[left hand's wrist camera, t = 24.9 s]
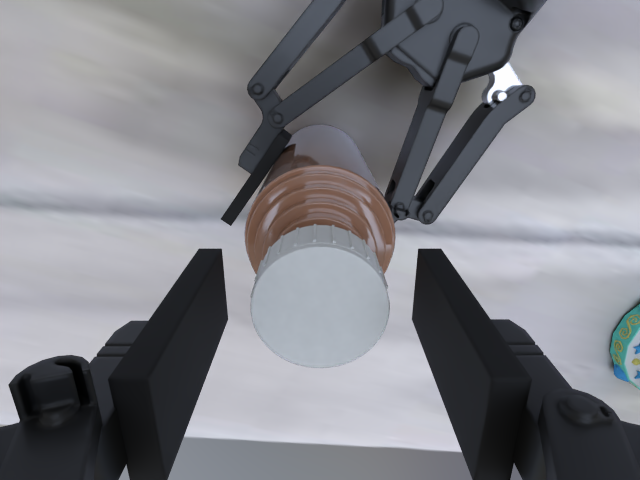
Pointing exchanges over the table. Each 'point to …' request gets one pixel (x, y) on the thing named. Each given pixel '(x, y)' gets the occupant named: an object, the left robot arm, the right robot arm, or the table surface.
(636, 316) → the decorative hourglass
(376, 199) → the bottle
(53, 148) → the table surface
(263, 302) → the cap
